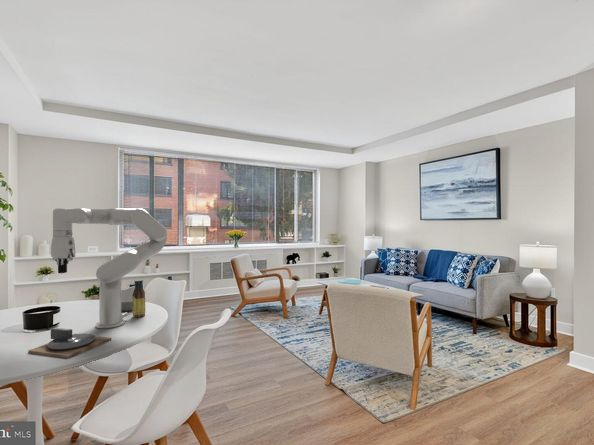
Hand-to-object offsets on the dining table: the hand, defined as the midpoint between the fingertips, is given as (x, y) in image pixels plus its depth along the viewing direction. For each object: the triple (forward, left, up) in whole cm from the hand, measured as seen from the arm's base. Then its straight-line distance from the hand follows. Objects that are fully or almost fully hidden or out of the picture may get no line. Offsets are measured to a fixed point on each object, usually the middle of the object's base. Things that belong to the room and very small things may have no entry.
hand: (62, 272), depth 155 cm
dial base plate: (+15, +23, -27) cm, 39 cm away
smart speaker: (-37, +4, -27) cm, 46 cm away
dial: (+15, +22, -26) cm, 37 cm away
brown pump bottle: (-28, +19, -27) cm, 44 cm away
